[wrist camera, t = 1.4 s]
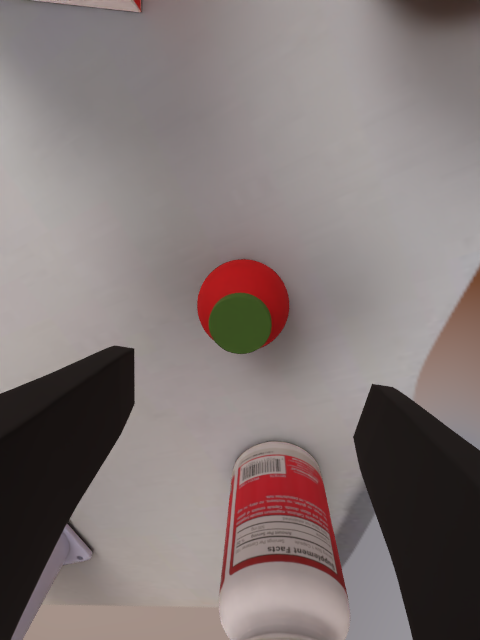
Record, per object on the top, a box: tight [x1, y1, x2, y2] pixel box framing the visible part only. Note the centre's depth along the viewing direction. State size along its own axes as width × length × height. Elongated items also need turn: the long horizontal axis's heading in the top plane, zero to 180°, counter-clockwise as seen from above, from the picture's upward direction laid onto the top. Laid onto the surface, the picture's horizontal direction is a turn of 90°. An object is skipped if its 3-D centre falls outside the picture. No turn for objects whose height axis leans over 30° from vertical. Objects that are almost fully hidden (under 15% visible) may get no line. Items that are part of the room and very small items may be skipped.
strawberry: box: [197, 259, 289, 354], centre depth 15 cm, size 4×4×5 cm
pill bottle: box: [219, 441, 350, 640], centre depth 17 cm, size 6×6×11 cm
